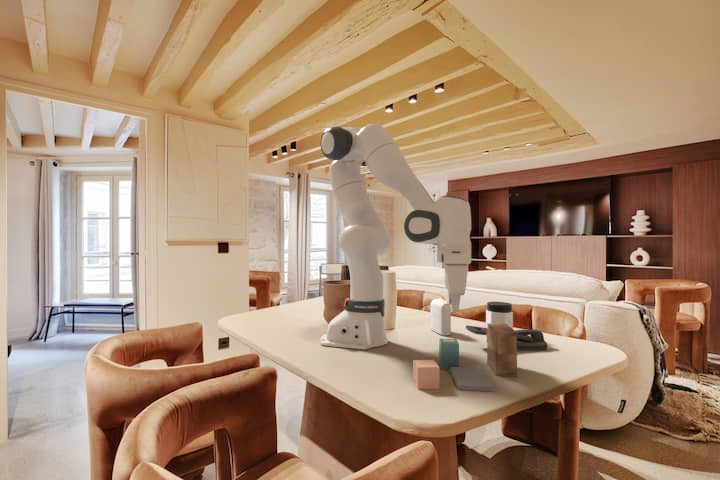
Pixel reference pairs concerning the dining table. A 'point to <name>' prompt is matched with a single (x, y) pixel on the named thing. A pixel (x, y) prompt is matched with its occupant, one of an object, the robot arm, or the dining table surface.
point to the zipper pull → (520, 338)
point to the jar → (499, 313)
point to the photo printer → (440, 317)
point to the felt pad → (471, 379)
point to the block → (426, 374)
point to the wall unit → (502, 349)
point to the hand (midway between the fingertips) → (453, 307)
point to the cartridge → (448, 353)
